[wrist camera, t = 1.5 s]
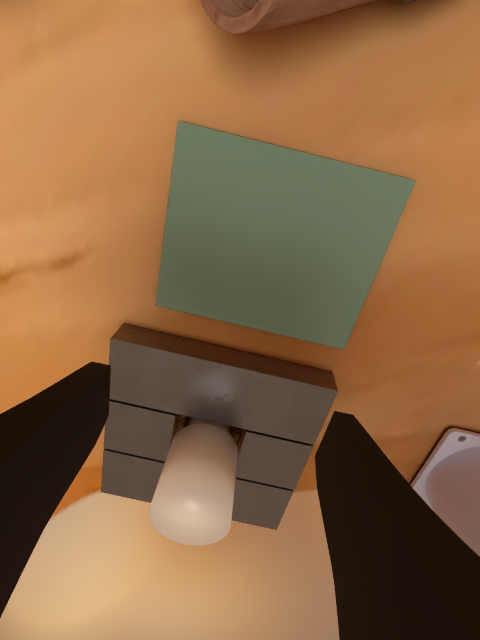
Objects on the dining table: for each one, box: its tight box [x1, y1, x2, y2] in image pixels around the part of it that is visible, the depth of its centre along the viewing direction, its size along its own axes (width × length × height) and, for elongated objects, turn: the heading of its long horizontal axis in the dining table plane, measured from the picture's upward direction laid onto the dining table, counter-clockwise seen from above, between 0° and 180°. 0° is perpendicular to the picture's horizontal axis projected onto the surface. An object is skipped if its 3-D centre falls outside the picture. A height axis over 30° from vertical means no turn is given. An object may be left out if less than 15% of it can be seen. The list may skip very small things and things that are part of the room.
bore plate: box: [101, 323, 338, 530], centre depth 24 cm, size 14×14×2 cm
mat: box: [155, 121, 415, 350], centre depth 19 cm, size 12×10×1 cm
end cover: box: [149, 417, 238, 546], centre depth 22 cm, size 5×5×7 cm
